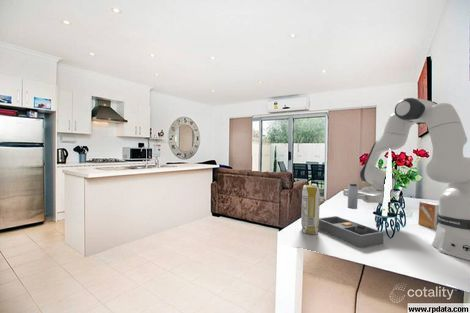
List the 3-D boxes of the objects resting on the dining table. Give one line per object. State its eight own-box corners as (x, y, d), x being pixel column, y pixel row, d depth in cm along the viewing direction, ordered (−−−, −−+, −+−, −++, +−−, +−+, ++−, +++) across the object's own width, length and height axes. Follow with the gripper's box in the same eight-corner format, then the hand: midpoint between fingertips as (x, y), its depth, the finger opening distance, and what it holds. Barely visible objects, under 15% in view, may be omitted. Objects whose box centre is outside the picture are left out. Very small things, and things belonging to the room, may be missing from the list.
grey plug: (359, 208, 119) (360, 184, 119) (353, 209, 118) (353, 184, 117) (351, 206, 124) (352, 183, 123) (345, 207, 122) (346, 183, 121)
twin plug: (369, 237, 101) (369, 227, 101) (361, 238, 99) (362, 228, 99) (359, 234, 105) (360, 223, 105) (352, 235, 103) (353, 224, 103)
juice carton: (319, 235, 107) (321, 185, 107) (302, 234, 109) (303, 184, 108) (316, 229, 117) (317, 182, 116) (300, 227, 118) (301, 182, 118)
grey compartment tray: (383, 243, 100) (383, 230, 100) (360, 247, 94) (361, 234, 94) (335, 225, 124) (336, 215, 124) (316, 227, 118) (316, 217, 118)
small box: (418, 224, 129) (419, 201, 128) (425, 223, 131) (426, 201, 130) (434, 229, 121) (435, 205, 121) (442, 228, 123) (443, 204, 123)
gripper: (353, 186, 135) (336, 187, 130) (387, 192, 116) (369, 193, 111) (353, 196, 135) (335, 198, 130) (387, 204, 116) (369, 206, 111)
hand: (351, 196), depth 120 cm, fingers closed on grey plug, 5 cm apart
